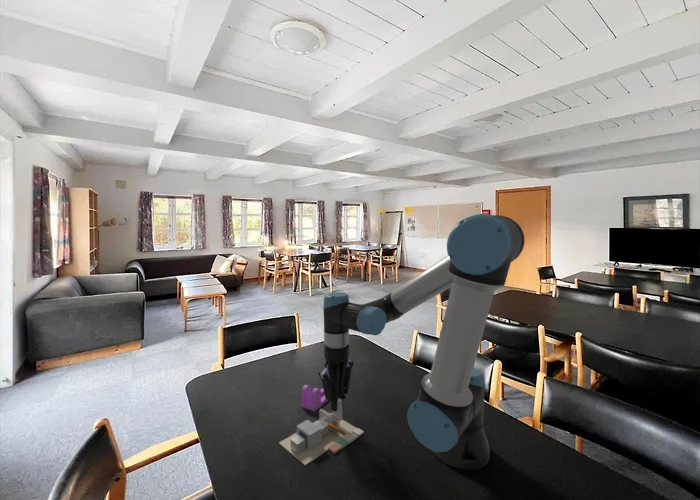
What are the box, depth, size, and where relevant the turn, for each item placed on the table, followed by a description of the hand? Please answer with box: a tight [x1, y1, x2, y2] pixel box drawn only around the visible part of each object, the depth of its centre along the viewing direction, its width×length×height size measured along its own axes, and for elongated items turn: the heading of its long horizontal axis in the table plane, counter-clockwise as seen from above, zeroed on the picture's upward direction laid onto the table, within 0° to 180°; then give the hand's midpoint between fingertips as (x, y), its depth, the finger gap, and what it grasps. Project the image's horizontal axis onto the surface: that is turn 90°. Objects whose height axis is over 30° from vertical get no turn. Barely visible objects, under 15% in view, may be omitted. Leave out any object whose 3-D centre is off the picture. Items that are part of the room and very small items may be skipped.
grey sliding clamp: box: [290, 408, 345, 453], centre depth 90 cm, size 12×14×5 cm
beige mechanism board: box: [278, 412, 365, 467], centre depth 92 cm, size 14×20×5 cm
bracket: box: [300, 384, 329, 412], centre depth 112 cm, size 13×6×7 cm, turn 149°
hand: (337, 418), depth 98 cm, fingers closed
